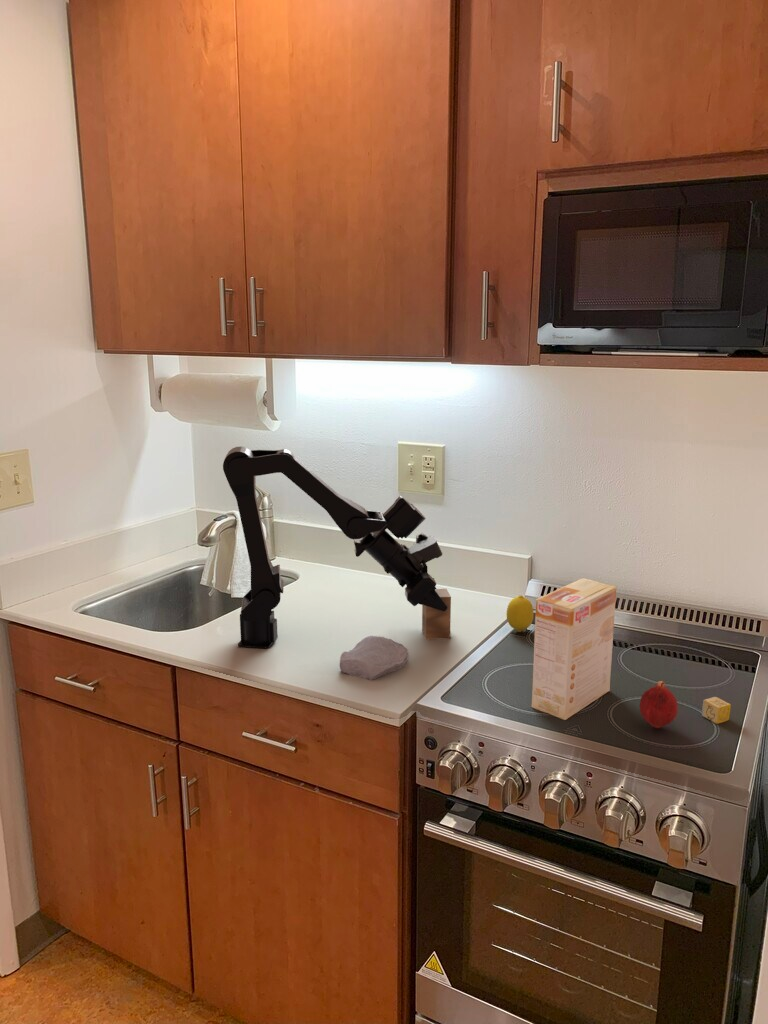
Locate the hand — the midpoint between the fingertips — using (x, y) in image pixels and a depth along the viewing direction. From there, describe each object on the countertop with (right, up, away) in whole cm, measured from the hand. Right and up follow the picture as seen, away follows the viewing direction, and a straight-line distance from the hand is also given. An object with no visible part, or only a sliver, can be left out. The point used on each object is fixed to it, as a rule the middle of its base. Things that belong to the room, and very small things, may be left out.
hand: (443, 603), depth 167 cm
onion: (+32, -16, -36) cm, 51 cm away
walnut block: (-1, -6, +2) cm, 7 cm away
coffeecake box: (+20, -14, -27) cm, 36 cm away
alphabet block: (+42, -15, -33) cm, 56 cm away
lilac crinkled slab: (-14, -11, -14) cm, 22 cm away
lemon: (+16, -6, +3) cm, 18 cm away
